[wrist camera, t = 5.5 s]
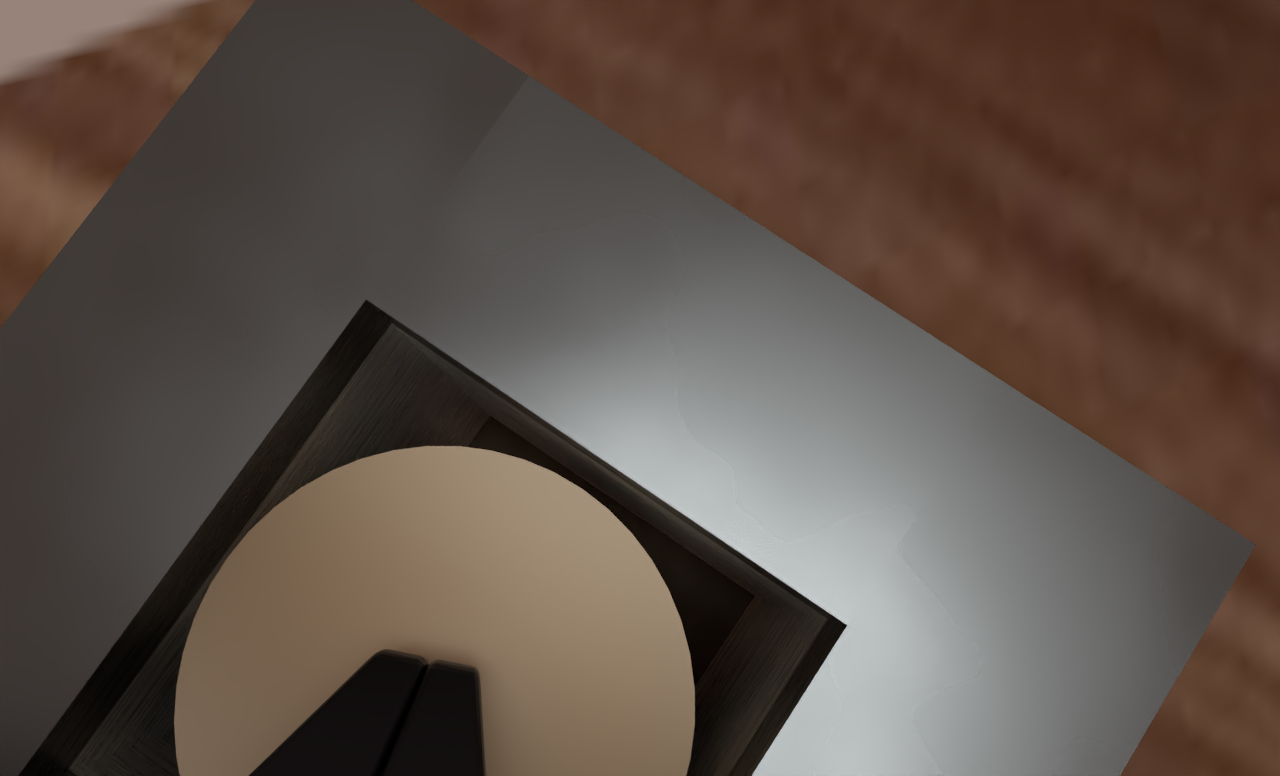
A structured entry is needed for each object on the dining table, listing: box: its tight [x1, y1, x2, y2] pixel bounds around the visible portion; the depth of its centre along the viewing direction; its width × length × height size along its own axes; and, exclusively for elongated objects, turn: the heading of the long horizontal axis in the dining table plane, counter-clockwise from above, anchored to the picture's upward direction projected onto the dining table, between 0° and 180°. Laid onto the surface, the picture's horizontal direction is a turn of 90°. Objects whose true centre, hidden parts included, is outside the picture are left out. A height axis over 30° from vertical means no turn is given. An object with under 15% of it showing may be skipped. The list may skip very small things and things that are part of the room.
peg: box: [174, 446, 695, 776], centre depth 13 cm, size 4×4×8 cm
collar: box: [0, 0, 1256, 776], centre depth 13 cm, size 10×10×8 cm
